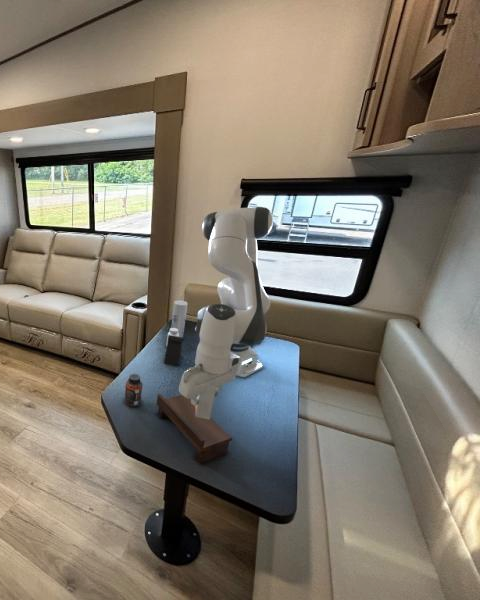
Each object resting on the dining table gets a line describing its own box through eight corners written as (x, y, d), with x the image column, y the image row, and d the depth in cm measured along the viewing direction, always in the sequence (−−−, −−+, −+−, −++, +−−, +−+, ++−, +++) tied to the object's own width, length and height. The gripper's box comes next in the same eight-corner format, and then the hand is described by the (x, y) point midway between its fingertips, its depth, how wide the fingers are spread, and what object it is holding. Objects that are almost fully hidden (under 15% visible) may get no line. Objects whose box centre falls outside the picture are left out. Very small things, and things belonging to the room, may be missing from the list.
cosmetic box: (194, 404, 100) (200, 372, 96) (209, 407, 99) (215, 375, 94) (195, 417, 95) (200, 384, 90) (210, 420, 93) (216, 387, 89)
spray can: (168, 335, 168) (172, 300, 161) (180, 334, 168) (185, 300, 161) (172, 340, 162) (176, 305, 155) (184, 340, 162) (189, 305, 155)
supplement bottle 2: (179, 349, 154) (181, 331, 151) (168, 350, 154) (171, 332, 150) (174, 343, 159) (177, 326, 156) (164, 344, 159) (166, 327, 155)
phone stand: (177, 366, 141) (181, 342, 136) (164, 363, 143) (166, 339, 138) (180, 356, 148) (183, 333, 144) (167, 353, 151) (170, 331, 146)
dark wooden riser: (183, 406, 116) (186, 386, 113) (229, 452, 97) (234, 429, 94) (155, 415, 112) (157, 394, 109) (197, 464, 93) (202, 441, 90)
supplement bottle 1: (140, 408, 115) (142, 382, 111) (124, 406, 116) (125, 380, 112) (140, 398, 121) (143, 373, 116) (125, 395, 122) (126, 371, 118)
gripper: (194, 376, 83) (187, 417, 88) (244, 356, 92) (235, 395, 97) (176, 364, 88) (171, 404, 93) (226, 347, 97) (218, 384, 102)
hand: (204, 399), depth 95 cm, fingers closed on cosmetic box, 7 cm apart
